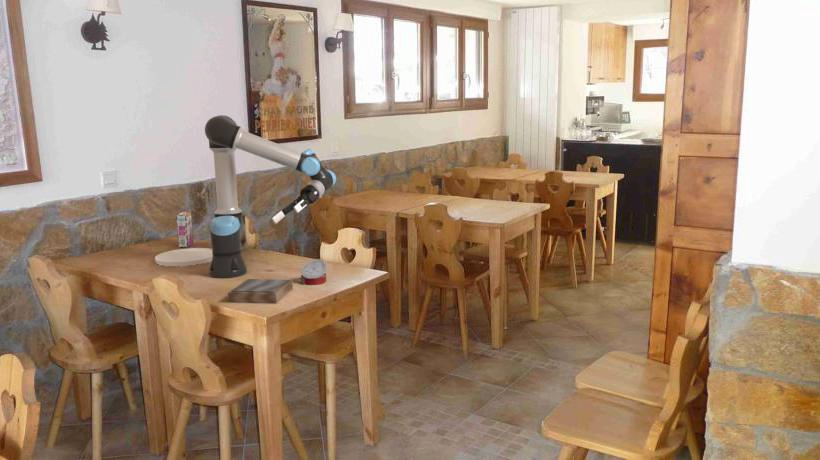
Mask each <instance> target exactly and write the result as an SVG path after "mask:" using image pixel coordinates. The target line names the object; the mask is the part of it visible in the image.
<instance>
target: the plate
mask: <svg viewBox="0 0 820 460" xmlns="http://www.w3.org/2000/svg"><path fill="white" fill-rule="evenodd" d="M212 257H213V255H212V248H208V247H207V248H206V247H190V248H189V247H187V248H179V249H174V250H173V249H172V250H169V251H165V252H161V253H159V254H156V256H154V262H156V263H157V264H159V265H158V266H161V265H164V266H163V267H168V266H176V267H177V266H180V267H189V266H188V265H193V266H197V265H196V264H199V265H203V264H202V263H204V264H207V263H206V262H209V263H211V262H210V261H212ZM156 263H155V264H156ZM157 264H156V265H157ZM176 267H175V268H176Z"/></svg>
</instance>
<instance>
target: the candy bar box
mask: <svg viewBox="0 0 820 460" xmlns="http://www.w3.org/2000/svg"><path fill="white" fill-rule="evenodd" d="M192 221H193V220H192V211H182V212H179V213H178V214H177V215H176V229H177V242H178V248H179V249H181V248H180V247H187V248H189V247H190V246H191V245H192V244H193V243H194V237H193V222H192Z"/></svg>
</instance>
